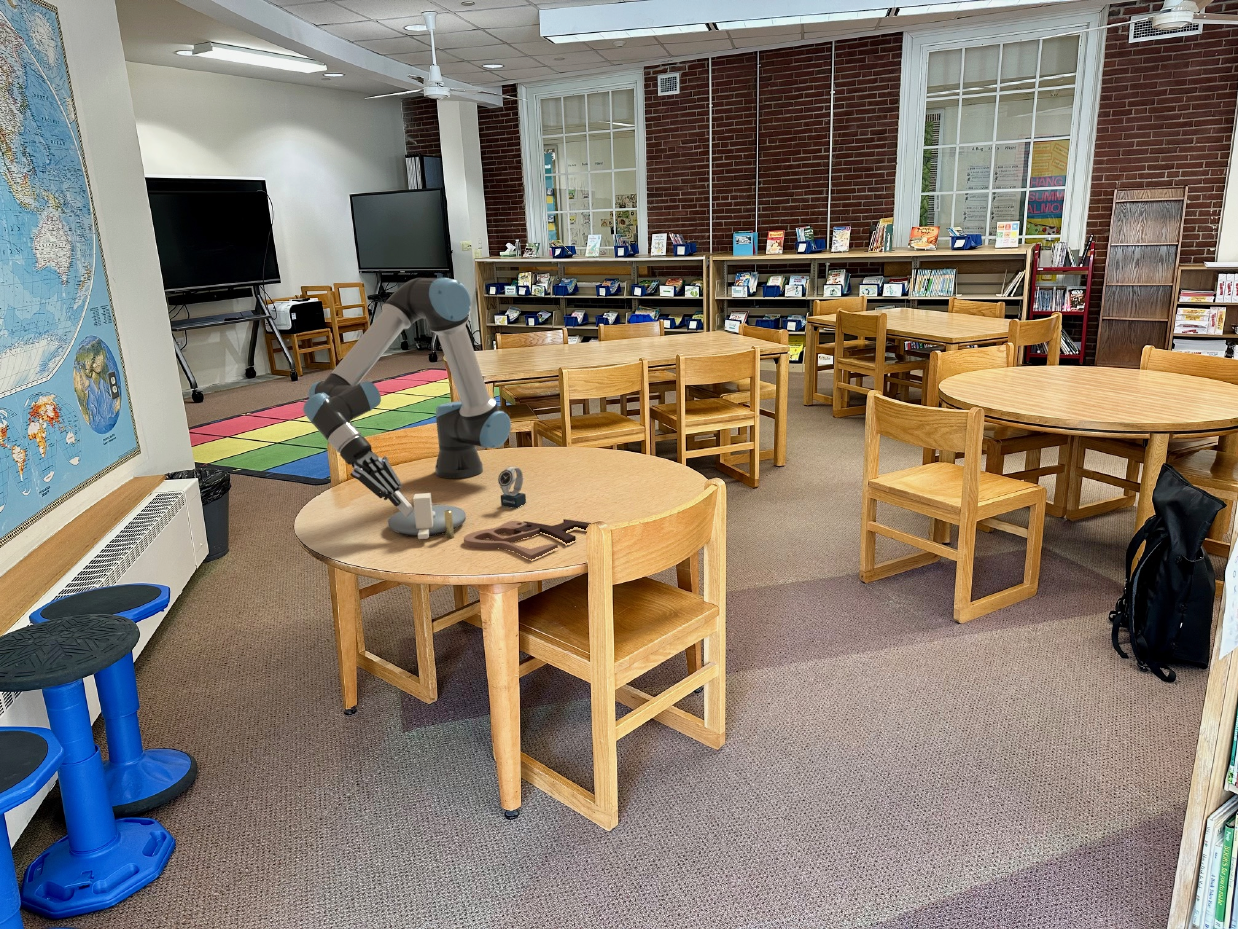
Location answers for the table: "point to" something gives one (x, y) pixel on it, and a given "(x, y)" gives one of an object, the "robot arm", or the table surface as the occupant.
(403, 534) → the turntable base
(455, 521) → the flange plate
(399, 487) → the robot arm
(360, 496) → the table surface
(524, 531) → the wood carving
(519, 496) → the watch
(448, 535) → the gold domed cylinder
